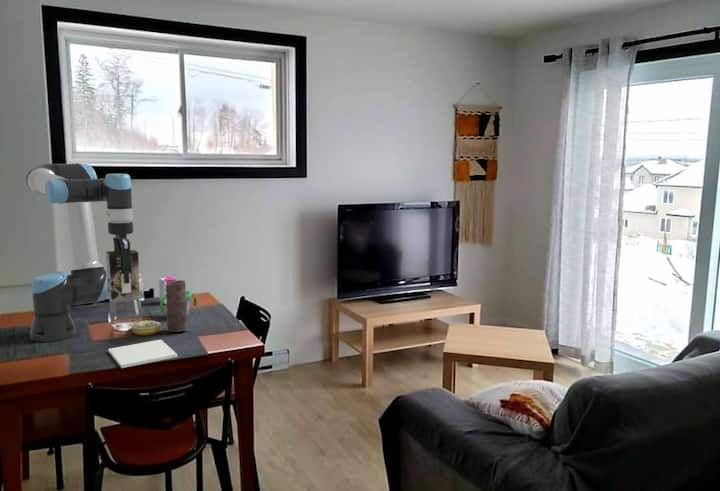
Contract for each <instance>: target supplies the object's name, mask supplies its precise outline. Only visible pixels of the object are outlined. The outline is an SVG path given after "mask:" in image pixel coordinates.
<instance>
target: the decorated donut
mask: <svg viewBox="0 0 720 491" xmlns="http://www.w3.org/2000/svg"><path fill="white" fill-rule="evenodd" d="M161 326H162V324H161V322H159V321H156V320H150V319H149V320H140V321H137V322H136V323H133V324H132V326H131V331H132V333H133V334H134V335H137V336H152V335H155V334H156V333H158V332H159V331H160V329H161Z"/></svg>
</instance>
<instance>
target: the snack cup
mask: <svg viewBox="0 0 720 491" xmlns="http://www.w3.org/2000/svg"><path fill="white" fill-rule="evenodd" d="M192 297H193V298H194V300H193V306H194V307H197V306H198V300H197V296H196V294H195V293H192V292H191V291H189V290H186V308H187V317H188V316H189V314H190V304H191V299H192ZM165 299H166V300H167V298H166V294H165V296H164V297H163V298H162V299H161V302H160V301H159V310H160V312H161V313H164V304H163V301H164V300H165Z"/></svg>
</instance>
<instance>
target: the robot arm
mask: <svg viewBox="0 0 720 491" xmlns="http://www.w3.org/2000/svg"><path fill="white" fill-rule="evenodd" d="M104 177H105V178H104ZM104 177H102V178H98V176H97V174H96V171H95V169H94V167H92V166H91V165H90V164H88V163H79V162H76V163H43V164H39V165H37V166H34V167H33V168H31V169H30V170H29V171H28V172H27V174H26V176H25V184H26V186H27V188H28V189H29V190H30V191H31V192H33V193H35V194H38V195H42V196H44V195H45V197H46V200H47V201H48V203H49V204H58V205H59V204H60V205H61V204H66V212H67V220H68V226H69V227H68V228H69V236H70V242H71V243H70V244H71V249H72V257H73V266H72V267H71V269H70V274H67V272H65V271H53V272H47V273H44V274H41V275H38V276H36V277H34V278H33V279H32V281H31V296H32V310H33V320H32V324H31V325H30V326H31V327H30V331H29V339H30V340H31V341H34V342H38V343H39V342H40V343H46V342H57V341H62V340H65V339H69V338H71V337H74V336H75V335H76V333H77V329H76V325H75V322H74V321H73V320H74V319H73V318H72V315H71V312H70V307H71V306H76V305H85V304H91V303H99V302H101V301H105V300H106V299H108V283H107V269H105V266H104V265H103V264H102V263H101V262H99V261H100V260H99V254H98V253H99V252H98V246H97V240H96V239H97V238H96V233H95V232H96V230H95V224H94V217H93V209H92V208H93V207H92V203H98V202H99V203H101V202H106V209H107V211H105V215H107V221H108V223H107V230H108V234H109V235H113V236H115V237H113V239H112V240H113V241H112V242H113V251H118V253H120V258H121V270H122V272H119V274H121V284H122V293H131V279H130V272H132V269H131V255H130V250H131V242H130V239H128V237H127V235H132V234H133V233H134V223H133V220H134V219H133V218H134V217H133V216H134V215H133V204H132V203H133V201H132V199H133V198H132V182H131V176H130V175H129V174H128V173H107V174H106V175H105V176H104Z"/></svg>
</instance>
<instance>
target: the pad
mask: <svg viewBox="0 0 720 491" xmlns="http://www.w3.org/2000/svg"><path fill="white" fill-rule="evenodd" d="M107 351H108V353H109V354H110V355H111V357H112V358H113V359H114V361H115V362H116V363H117V365H118V366H119V367H120V368H121V369H124V368H128V367H134V366H135V367H136V366H140V365H145V364H149V363H153V362H154V363H155V362H159V361H164V360H169V359H174V358H178V353H176V351H174V350H173V349H172V348H171V347H170V346H169V345H168V344H167V343H165V341H163V339H158V340H151V341H144V342H140V343H134V344H128V345H123V346H118V347H117V346H116V347H112V348H111V347H110V348H108V350H107Z"/></svg>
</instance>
